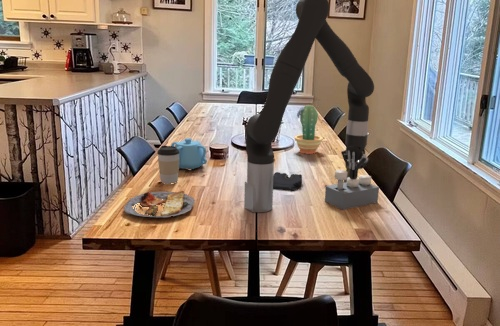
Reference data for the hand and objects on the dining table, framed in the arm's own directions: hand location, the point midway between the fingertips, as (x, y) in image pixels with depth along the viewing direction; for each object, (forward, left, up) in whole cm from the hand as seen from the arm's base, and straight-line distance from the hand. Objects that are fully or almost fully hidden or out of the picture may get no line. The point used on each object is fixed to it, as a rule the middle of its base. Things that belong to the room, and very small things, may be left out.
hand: (353, 178), depth 167 cm
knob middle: (0, 0, -9) cm, 9 cm away
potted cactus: (+33, +71, -9) cm, 79 cm away
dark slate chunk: (-13, +31, -10) cm, 35 cm away
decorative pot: (-36, +71, -9) cm, 80 cm away
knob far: (+6, 0, -9) cm, 10 cm away
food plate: (-65, +26, -10) cm, 71 cm away
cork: (+12, +14, -9) cm, 21 cm away
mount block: (0, 0, -9) cm, 9 cm away
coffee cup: (-52, +53, -9) cm, 75 cm away
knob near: (-6, 0, -5) cm, 8 cm away
